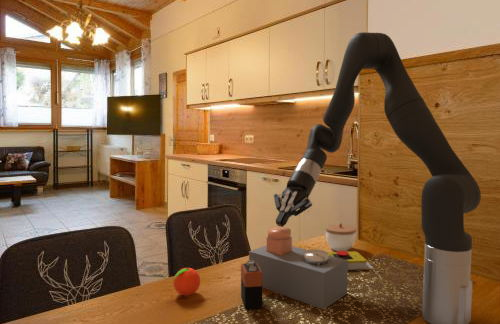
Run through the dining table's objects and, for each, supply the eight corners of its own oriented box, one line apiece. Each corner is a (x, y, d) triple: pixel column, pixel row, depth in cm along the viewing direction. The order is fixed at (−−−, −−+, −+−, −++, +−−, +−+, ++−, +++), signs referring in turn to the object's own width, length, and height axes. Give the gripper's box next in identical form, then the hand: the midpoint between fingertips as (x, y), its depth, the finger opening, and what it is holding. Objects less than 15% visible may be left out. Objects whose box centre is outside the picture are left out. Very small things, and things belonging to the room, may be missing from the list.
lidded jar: (339, 255, 129) (339, 228, 128) (319, 247, 139) (319, 222, 138) (361, 250, 134) (362, 224, 134) (341, 242, 144) (341, 218, 143)
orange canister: (295, 261, 106) (295, 229, 105) (281, 267, 101) (281, 234, 101) (277, 256, 110) (277, 225, 110) (263, 261, 106) (263, 230, 105)
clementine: (181, 304, 93) (181, 276, 92) (164, 296, 97) (164, 269, 97) (205, 293, 99) (205, 267, 98) (188, 286, 103) (188, 261, 103)
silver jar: (332, 286, 98) (333, 252, 98) (319, 294, 94) (320, 259, 93) (311, 280, 103) (312, 247, 102) (298, 287, 98) (298, 253, 97)
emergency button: (319, 248, 124) (362, 247, 125) (318, 261, 124) (362, 260, 126) (327, 258, 115) (374, 256, 116) (327, 272, 115) (374, 270, 117)
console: (347, 293, 99) (347, 260, 98) (323, 309, 90) (323, 273, 89) (275, 270, 115) (275, 242, 114) (249, 282, 106) (249, 251, 105)
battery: (257, 296, 97) (257, 258, 96) (262, 308, 90) (263, 268, 90) (240, 297, 96) (240, 259, 95) (245, 310, 90) (245, 269, 89)
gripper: (281, 167, 115) (255, 213, 107) (318, 171, 106) (293, 221, 98) (291, 183, 120) (266, 228, 112) (328, 187, 111) (304, 236, 103)
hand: (279, 224), depth 105 cm, fingers closed
